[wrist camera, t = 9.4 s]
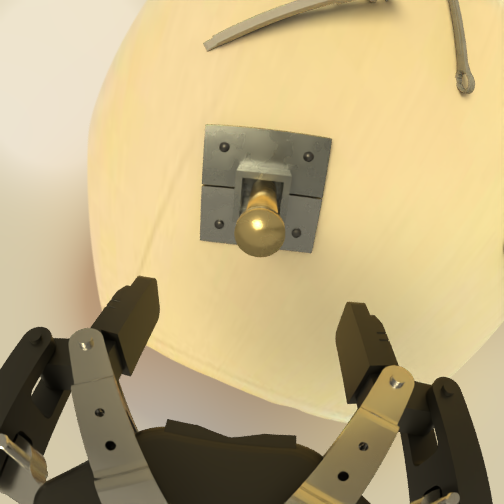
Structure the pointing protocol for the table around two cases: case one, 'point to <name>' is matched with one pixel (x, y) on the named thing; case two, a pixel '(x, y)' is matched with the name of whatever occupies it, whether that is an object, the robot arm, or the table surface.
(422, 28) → the table surface
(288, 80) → the table surface
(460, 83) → the combination wrench
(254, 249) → the pin
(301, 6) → the caliper
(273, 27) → the table surface
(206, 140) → the square socket plate
